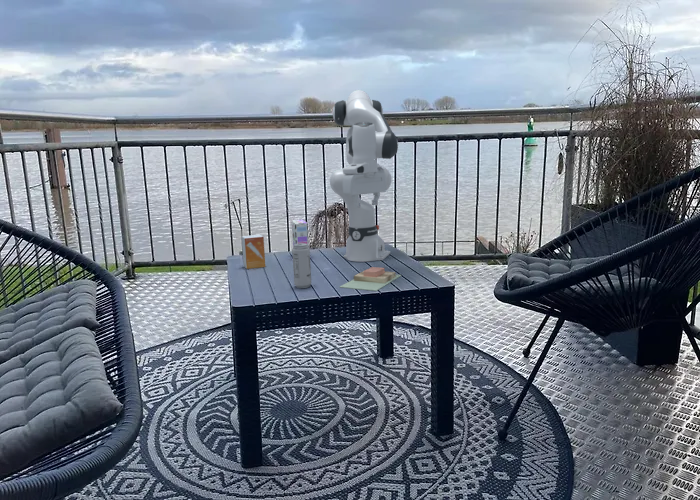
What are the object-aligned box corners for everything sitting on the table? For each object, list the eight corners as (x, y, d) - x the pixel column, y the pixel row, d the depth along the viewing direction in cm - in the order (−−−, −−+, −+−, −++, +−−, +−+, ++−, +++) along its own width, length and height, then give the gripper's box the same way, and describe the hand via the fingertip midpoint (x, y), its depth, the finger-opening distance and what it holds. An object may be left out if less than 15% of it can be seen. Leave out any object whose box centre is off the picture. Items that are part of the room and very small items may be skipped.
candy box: (310, 260, 226) (308, 222, 223) (296, 261, 225) (294, 223, 222) (305, 254, 239) (303, 218, 236) (293, 255, 238) (291, 219, 235)
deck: (366, 274, 195) (366, 269, 195) (395, 277, 190) (395, 272, 189) (354, 281, 187) (353, 276, 186) (384, 284, 181) (384, 278, 181)
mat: (367, 272, 198) (367, 272, 198) (401, 275, 192) (401, 275, 192) (339, 287, 179) (339, 286, 179) (376, 291, 173) (376, 290, 173)
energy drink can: (312, 287, 180) (309, 245, 178) (294, 289, 180) (292, 246, 177) (310, 283, 186) (308, 242, 183) (294, 284, 185) (291, 243, 183)
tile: (372, 271, 192) (372, 266, 191) (384, 272, 189) (384, 267, 189) (363, 276, 186) (363, 271, 185) (376, 277, 183) (376, 272, 183)
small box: (246, 269, 213) (244, 238, 211) (243, 266, 219) (241, 236, 216) (266, 267, 216) (263, 236, 214) (262, 264, 222) (260, 234, 219)
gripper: (377, 167, 197) (378, 203, 199) (339, 169, 183) (340, 208, 185) (390, 166, 193) (391, 204, 195) (351, 169, 178) (353, 209, 181)
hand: (366, 206), depth 190 cm, fingers open, 8 cm apart
